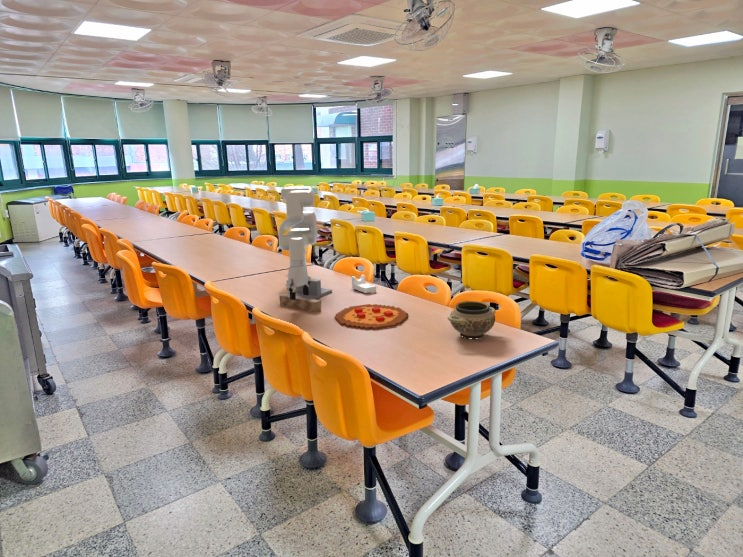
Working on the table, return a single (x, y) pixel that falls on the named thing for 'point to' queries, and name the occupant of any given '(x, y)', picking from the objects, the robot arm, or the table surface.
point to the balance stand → (313, 290)
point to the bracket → (362, 285)
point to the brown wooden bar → (301, 302)
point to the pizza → (371, 316)
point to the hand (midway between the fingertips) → (299, 297)
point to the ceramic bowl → (472, 319)
